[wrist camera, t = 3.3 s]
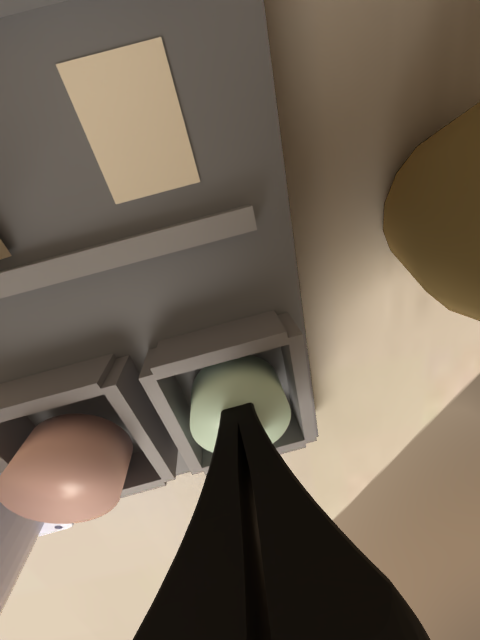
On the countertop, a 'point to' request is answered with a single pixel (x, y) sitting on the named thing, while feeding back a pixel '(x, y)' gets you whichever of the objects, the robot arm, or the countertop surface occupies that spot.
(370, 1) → the countertop surface
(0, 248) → the tan wooden step block
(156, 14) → the panel
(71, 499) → the pink button
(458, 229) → the squeeze bottle
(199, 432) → the mint button
